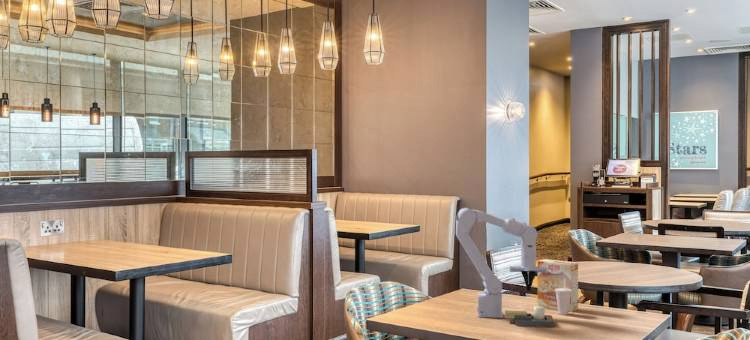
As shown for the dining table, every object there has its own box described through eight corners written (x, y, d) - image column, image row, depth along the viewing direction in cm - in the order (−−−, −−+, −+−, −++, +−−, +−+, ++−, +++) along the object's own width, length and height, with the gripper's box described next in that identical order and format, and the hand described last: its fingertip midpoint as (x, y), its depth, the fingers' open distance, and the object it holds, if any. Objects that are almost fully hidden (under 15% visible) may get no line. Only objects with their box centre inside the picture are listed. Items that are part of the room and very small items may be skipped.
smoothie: (572, 316, 255) (572, 280, 255) (555, 315, 257) (555, 279, 256) (570, 312, 262) (570, 277, 261) (554, 311, 263) (554, 277, 263)
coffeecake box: (537, 307, 271) (537, 260, 271) (544, 304, 277) (544, 258, 276) (571, 312, 262) (571, 264, 261) (578, 309, 267) (578, 262, 267)
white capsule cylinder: (533, 324, 243) (533, 308, 243) (533, 321, 247) (533, 305, 246) (544, 324, 242) (544, 308, 242) (544, 322, 246) (544, 306, 246)
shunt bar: (505, 317, 244) (505, 312, 244) (504, 315, 247) (504, 310, 247) (527, 318, 243) (527, 313, 243) (526, 316, 246) (526, 311, 246)
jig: (515, 325, 240) (515, 317, 240) (513, 319, 250) (513, 311, 250) (554, 327, 238) (554, 318, 238) (551, 320, 248) (551, 312, 248)
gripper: (510, 257, 253) (510, 291, 253) (548, 257, 251) (548, 293, 251) (509, 254, 260) (509, 288, 260) (546, 255, 258) (546, 289, 258)
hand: (528, 290), depth 256 cm, fingers closed
